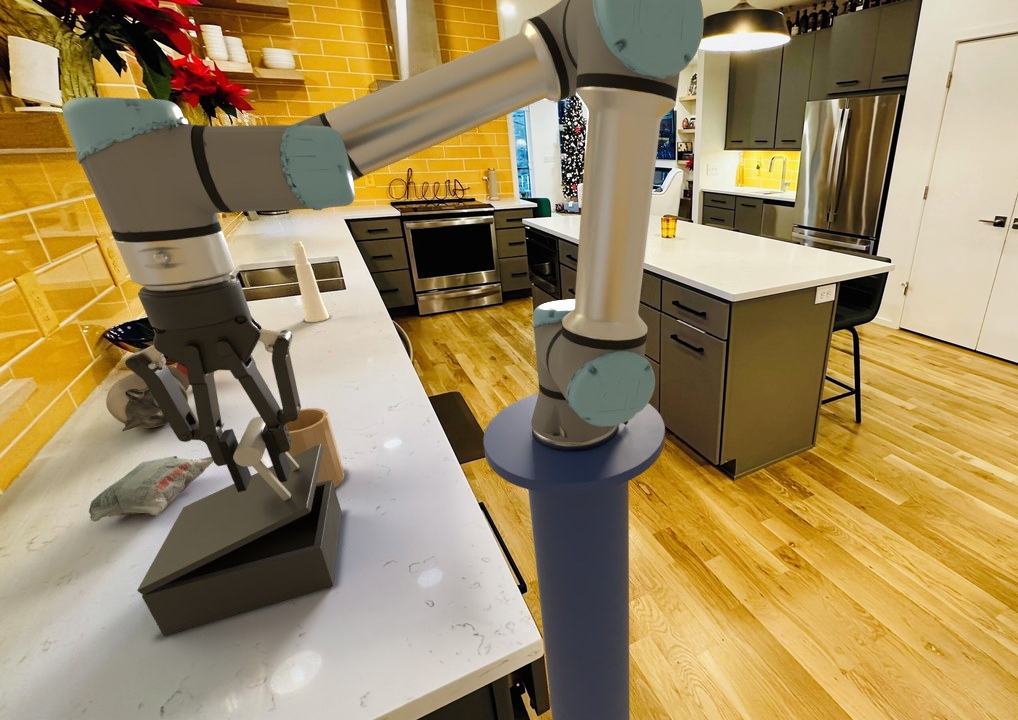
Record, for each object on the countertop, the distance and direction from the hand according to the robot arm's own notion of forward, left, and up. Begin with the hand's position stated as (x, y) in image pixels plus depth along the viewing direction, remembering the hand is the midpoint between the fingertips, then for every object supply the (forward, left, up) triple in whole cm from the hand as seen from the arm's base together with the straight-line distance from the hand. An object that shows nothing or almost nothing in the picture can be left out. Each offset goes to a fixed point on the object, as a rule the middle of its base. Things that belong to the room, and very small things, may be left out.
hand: (265, 479), depth 57 cm
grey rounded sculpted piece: (+27, -48, -12) cm, 56 cm away
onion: (+25, -63, -12) cm, 69 cm away
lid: (+3, 0, -4) cm, 5 cm away
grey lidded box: (+3, 0, -12) cm, 12 cm away
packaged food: (+19, -21, -12) cm, 31 cm away
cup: (-1, -16, -12) cm, 20 cm away
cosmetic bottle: (+8, -103, -12) cm, 104 cm away
